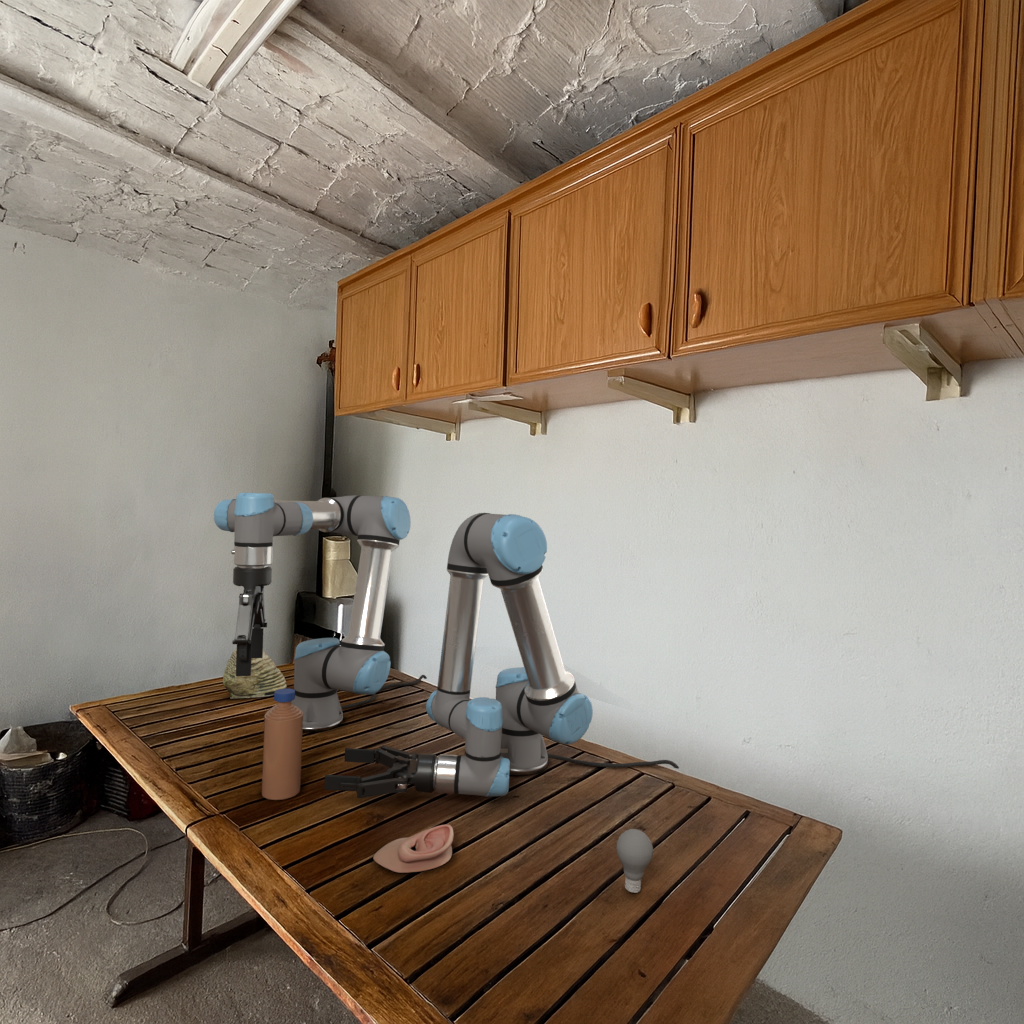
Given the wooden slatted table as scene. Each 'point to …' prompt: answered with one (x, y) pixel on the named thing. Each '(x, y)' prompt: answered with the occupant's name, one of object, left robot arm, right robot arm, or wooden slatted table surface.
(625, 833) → the light bulb
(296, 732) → the bottle
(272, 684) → the fossil
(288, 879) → the wooden slatted table surface
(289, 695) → the cap
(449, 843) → the anatomical model
